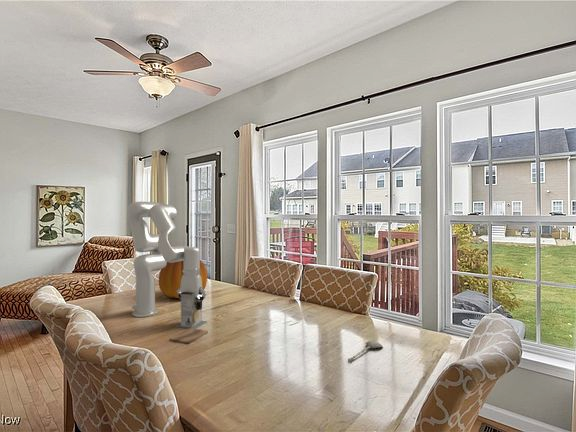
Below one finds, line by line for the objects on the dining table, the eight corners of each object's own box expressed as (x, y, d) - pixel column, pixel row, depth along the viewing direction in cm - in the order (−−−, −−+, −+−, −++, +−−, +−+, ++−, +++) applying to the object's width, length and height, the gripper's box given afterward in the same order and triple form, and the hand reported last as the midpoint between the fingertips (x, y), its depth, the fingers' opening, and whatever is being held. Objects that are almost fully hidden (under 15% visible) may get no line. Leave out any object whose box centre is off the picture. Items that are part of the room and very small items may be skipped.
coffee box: (190, 320, 157) (190, 288, 157) (202, 321, 156) (202, 288, 156) (180, 326, 148) (180, 292, 148) (192, 327, 147) (192, 293, 147)
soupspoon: (385, 349, 128) (371, 345, 132) (385, 340, 128) (371, 337, 132) (357, 365, 112) (341, 360, 116) (357, 356, 112) (341, 351, 117)
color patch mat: (174, 326, 149) (174, 325, 149) (189, 319, 159) (189, 318, 159) (193, 329, 145) (193, 329, 145) (207, 321, 155) (207, 321, 155)
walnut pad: (169, 340, 132) (169, 338, 132) (189, 329, 145) (189, 328, 145) (189, 344, 129) (189, 342, 129) (207, 332, 141) (207, 331, 141)
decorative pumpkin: (194, 288, 225) (194, 246, 225) (215, 296, 203) (215, 250, 203) (152, 295, 205) (152, 249, 204) (170, 305, 183) (170, 254, 183)
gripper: (171, 272, 151) (171, 308, 152) (201, 275, 145) (201, 312, 145) (182, 270, 158) (182, 304, 159) (211, 272, 152) (211, 308, 152)
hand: (191, 308), depth 152 cm, fingers open, 8 cm apart
